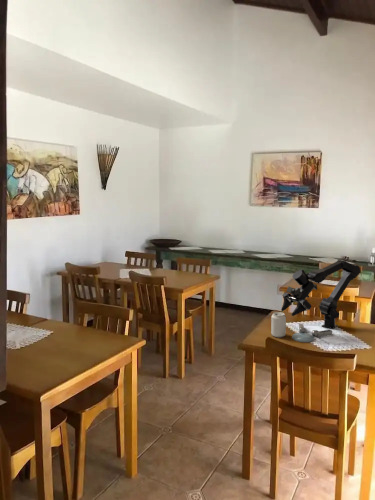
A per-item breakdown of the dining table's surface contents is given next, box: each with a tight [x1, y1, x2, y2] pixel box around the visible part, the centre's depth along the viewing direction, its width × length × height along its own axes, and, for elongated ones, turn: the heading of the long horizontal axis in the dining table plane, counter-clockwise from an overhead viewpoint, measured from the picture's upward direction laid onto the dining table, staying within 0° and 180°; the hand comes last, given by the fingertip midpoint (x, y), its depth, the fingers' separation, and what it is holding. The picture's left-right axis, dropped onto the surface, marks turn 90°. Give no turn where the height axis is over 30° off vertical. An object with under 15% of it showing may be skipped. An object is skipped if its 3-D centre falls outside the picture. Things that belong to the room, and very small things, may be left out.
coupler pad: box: [291, 332, 315, 343], centre depth 211 cm, size 11×11×1 cm
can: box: [270, 311, 287, 338], centre depth 215 cm, size 8×8×12 cm
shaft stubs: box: [298, 323, 333, 338], centre depth 218 cm, size 10×19×3 cm, turn 48°
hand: (286, 313), depth 216 cm, fingers open, 9 cm apart
